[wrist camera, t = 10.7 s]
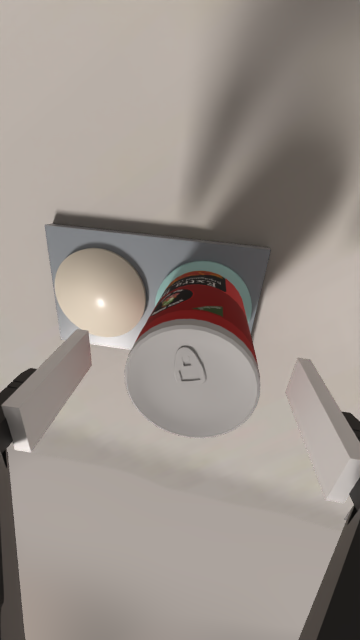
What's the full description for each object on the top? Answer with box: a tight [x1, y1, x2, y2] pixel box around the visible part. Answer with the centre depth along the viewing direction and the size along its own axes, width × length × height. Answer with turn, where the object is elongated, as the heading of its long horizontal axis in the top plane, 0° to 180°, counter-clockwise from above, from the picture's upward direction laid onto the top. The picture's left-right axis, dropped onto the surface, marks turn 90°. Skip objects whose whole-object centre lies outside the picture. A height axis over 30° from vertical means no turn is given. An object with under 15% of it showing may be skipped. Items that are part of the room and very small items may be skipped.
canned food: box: [124, 271, 260, 438], centre depth 19 cm, size 8×8×11 cm
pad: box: [155, 261, 252, 323], centre depth 24 cm, size 9×9×1 cm
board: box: [45, 224, 271, 350], centre depth 25 cm, size 20×12×2 cm, turn 85°
